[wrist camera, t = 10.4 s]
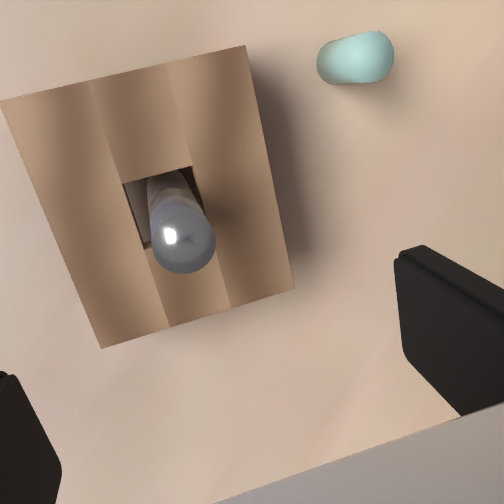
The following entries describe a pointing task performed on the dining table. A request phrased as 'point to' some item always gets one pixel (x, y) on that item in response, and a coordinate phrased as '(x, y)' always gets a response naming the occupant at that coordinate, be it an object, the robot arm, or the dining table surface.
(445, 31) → the dining table surface
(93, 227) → the bridge
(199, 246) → the long pin
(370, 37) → the short pin
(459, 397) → the robot arm
